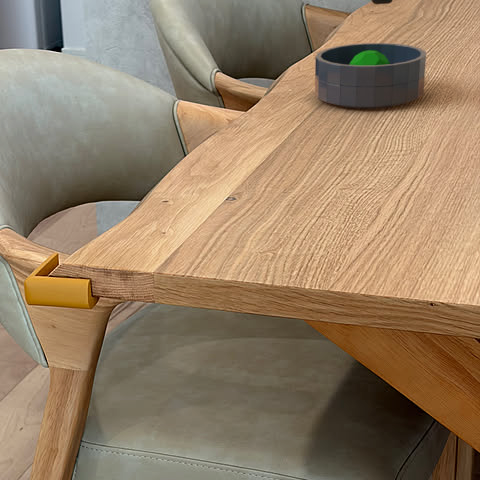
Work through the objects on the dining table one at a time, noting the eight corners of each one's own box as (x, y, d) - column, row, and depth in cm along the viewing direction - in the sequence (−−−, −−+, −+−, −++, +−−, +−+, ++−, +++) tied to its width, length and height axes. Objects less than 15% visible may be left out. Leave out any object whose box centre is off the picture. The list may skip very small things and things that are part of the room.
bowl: (445, 94, 106) (448, 50, 104) (376, 117, 100) (378, 71, 97) (362, 79, 115) (363, 39, 113) (293, 100, 108) (293, 57, 106)
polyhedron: (354, 86, 110) (355, 46, 108) (394, 89, 108) (396, 47, 106) (341, 97, 106) (342, 55, 104) (383, 99, 104) (385, 57, 102)
